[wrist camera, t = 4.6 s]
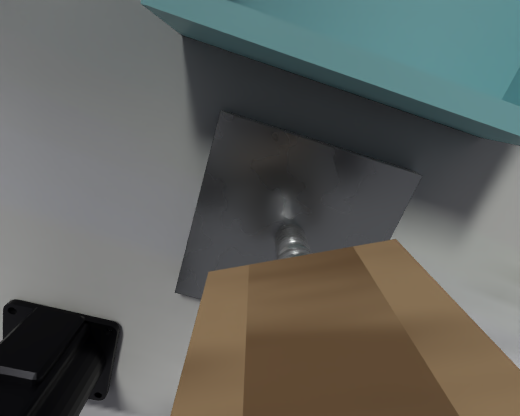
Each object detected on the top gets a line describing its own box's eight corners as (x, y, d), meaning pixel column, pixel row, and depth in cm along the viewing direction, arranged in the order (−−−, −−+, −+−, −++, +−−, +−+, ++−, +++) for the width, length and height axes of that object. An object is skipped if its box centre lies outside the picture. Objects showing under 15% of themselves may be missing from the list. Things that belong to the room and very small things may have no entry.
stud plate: (337, 321, 19) (367, 404, 14) (179, 282, 18) (148, 357, 13) (412, 170, 15) (488, 208, 10) (222, 110, 14) (204, 119, 9)
